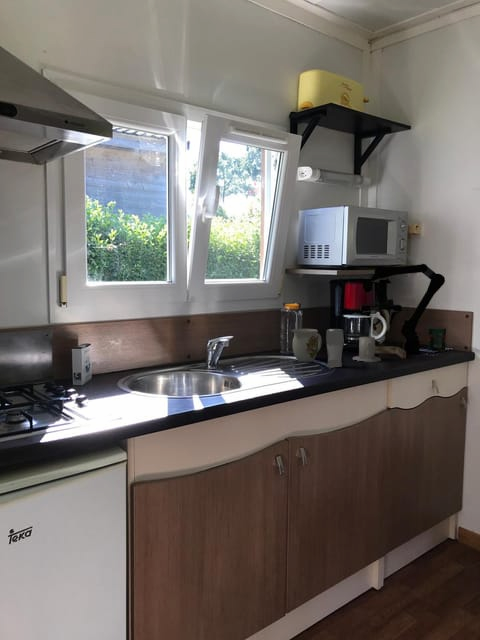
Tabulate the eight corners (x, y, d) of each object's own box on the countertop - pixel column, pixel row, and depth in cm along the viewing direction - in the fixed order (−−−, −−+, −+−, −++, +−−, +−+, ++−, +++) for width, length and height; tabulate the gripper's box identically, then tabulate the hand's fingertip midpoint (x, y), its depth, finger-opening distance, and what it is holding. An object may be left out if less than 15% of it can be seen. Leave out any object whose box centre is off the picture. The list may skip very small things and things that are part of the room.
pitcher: (330, 359, 239) (330, 328, 237) (301, 364, 227) (302, 331, 226) (311, 356, 247) (311, 325, 245) (282, 361, 235) (283, 329, 234)
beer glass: (336, 364, 227) (336, 328, 226) (346, 367, 221) (347, 330, 220) (322, 365, 224) (322, 329, 223) (332, 368, 218) (333, 331, 216)
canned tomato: (424, 349, 265) (425, 326, 264) (439, 348, 267) (439, 326, 266) (434, 352, 258) (435, 328, 256) (448, 351, 259) (449, 328, 258)
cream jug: (357, 356, 241) (358, 336, 240) (372, 357, 241) (373, 336, 240) (361, 360, 232) (362, 339, 231) (377, 360, 232) (377, 339, 231)
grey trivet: (377, 357, 244) (377, 356, 244) (383, 362, 232) (383, 360, 232) (350, 357, 244) (350, 355, 244) (355, 362, 232) (355, 360, 232)
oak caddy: (397, 353, 255) (398, 346, 255) (405, 358, 241) (406, 351, 240) (364, 352, 255) (364, 346, 255) (370, 358, 241) (370, 351, 241)
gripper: (363, 294, 249) (362, 328, 251) (405, 294, 248) (404, 328, 250) (359, 292, 260) (358, 325, 262) (399, 292, 259) (398, 325, 261)
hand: (379, 326), depth 258 cm, fingers open, 9 cm apart
